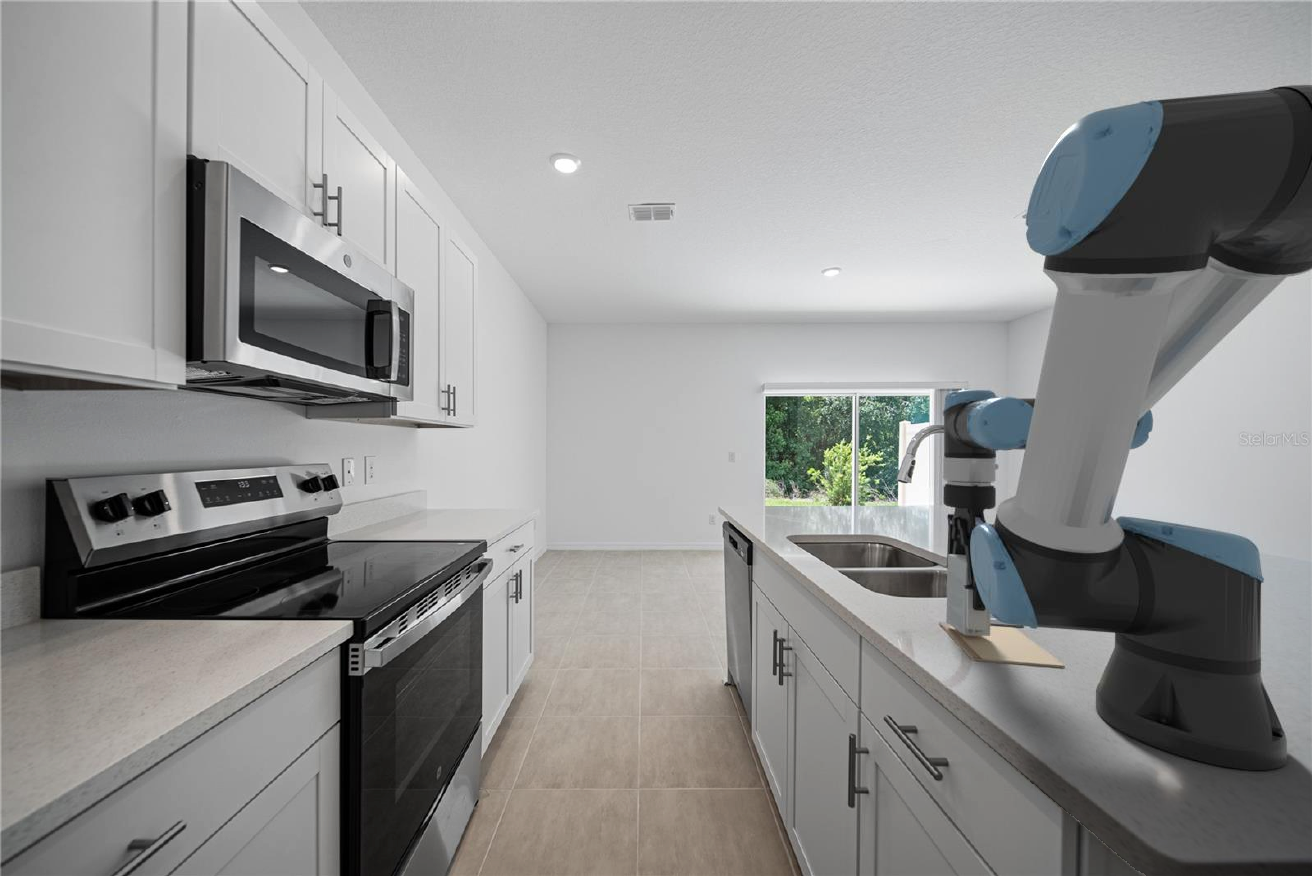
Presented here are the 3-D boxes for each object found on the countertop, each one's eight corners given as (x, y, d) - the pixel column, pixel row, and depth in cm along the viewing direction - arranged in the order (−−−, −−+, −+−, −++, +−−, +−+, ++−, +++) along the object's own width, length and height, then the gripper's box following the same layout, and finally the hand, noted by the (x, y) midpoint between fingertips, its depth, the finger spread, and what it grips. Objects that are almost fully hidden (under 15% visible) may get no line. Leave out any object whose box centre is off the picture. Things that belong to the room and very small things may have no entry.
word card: (1023, 627, 93) (1023, 625, 93) (973, 623, 95) (973, 621, 95) (1010, 618, 98) (1010, 616, 98) (963, 614, 100) (962, 612, 100)
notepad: (1064, 667, 76) (1064, 665, 76) (972, 660, 79) (972, 657, 79) (1014, 629, 92) (1014, 627, 92) (938, 624, 94) (938, 621, 94)
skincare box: (991, 636, 86) (993, 563, 86) (964, 636, 86) (966, 562, 86) (970, 623, 92) (971, 554, 92) (945, 622, 92) (946, 553, 92)
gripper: (1021, 489, 79) (1020, 645, 79) (972, 479, 98) (971, 605, 98) (965, 488, 80) (964, 641, 80) (927, 478, 99) (926, 602, 99)
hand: (968, 621), depth 89 cm, fingers closed on skincare box, 6 cm apart
